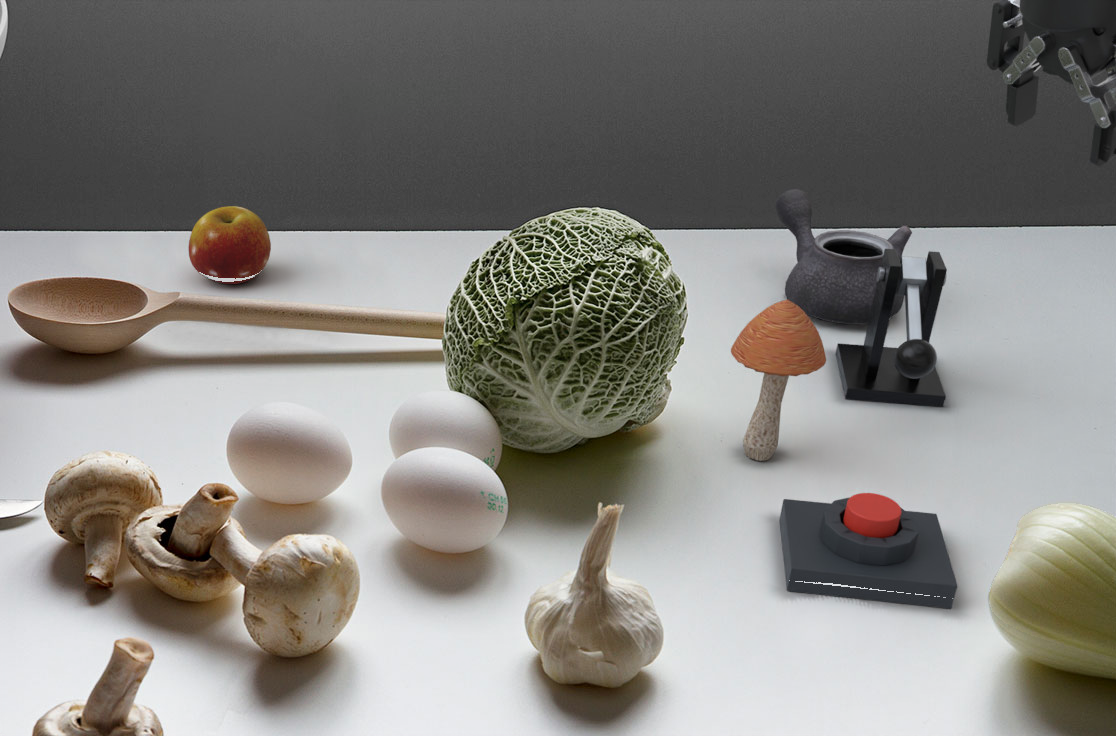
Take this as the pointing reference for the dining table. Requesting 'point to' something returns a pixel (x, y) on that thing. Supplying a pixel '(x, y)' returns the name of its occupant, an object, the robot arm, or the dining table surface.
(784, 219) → the teapot
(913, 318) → the lever
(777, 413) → the mushroom
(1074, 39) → the robot arm
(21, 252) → the dining table surface
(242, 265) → the fruit
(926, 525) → the block
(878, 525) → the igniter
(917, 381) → the bracket
